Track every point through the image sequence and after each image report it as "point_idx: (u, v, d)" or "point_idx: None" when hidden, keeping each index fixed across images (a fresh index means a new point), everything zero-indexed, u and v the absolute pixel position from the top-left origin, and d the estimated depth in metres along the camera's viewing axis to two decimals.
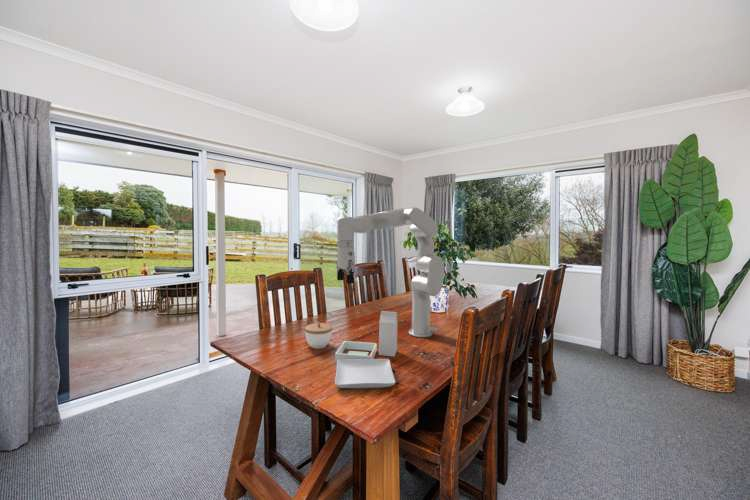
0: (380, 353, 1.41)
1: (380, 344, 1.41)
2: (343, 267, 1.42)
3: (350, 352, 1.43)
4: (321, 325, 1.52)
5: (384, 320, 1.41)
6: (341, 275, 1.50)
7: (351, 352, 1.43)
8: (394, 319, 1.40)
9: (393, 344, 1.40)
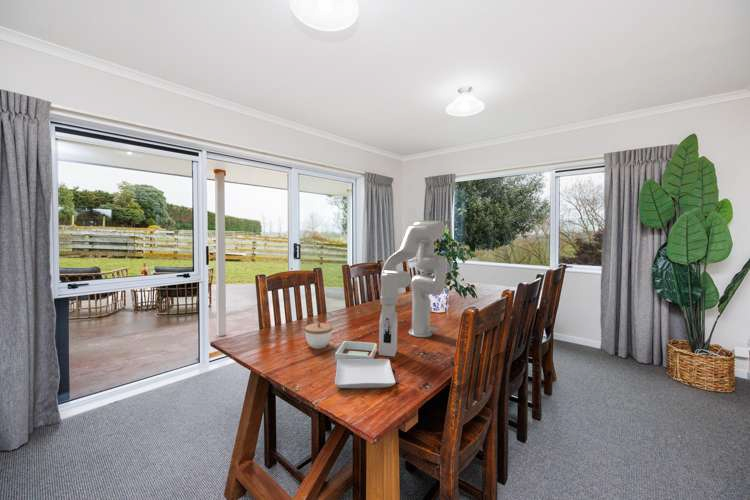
0: (380, 353, 1.41)
1: (380, 344, 1.41)
2: None
3: (350, 352, 1.43)
4: (321, 325, 1.52)
5: None
6: None
7: (351, 352, 1.43)
8: (394, 319, 1.40)
9: (393, 344, 1.40)
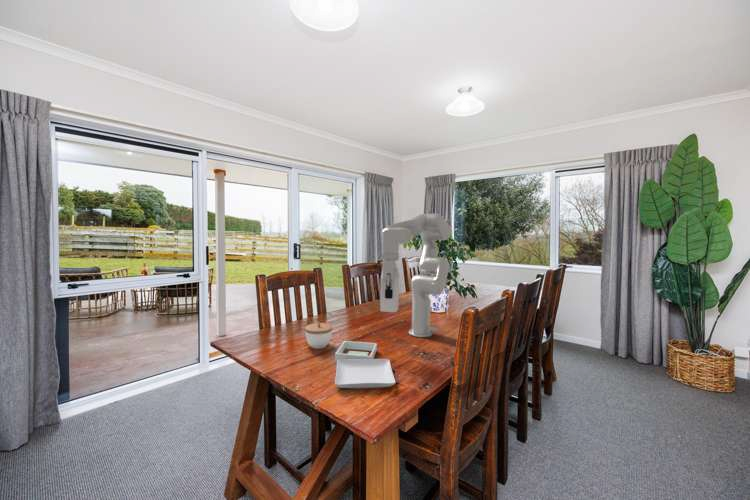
0: (382, 309, 1.40)
1: (381, 300, 1.40)
2: None
3: (350, 352, 1.43)
4: (321, 325, 1.52)
5: None
6: None
7: (351, 352, 1.43)
8: (395, 275, 1.39)
9: (395, 300, 1.39)
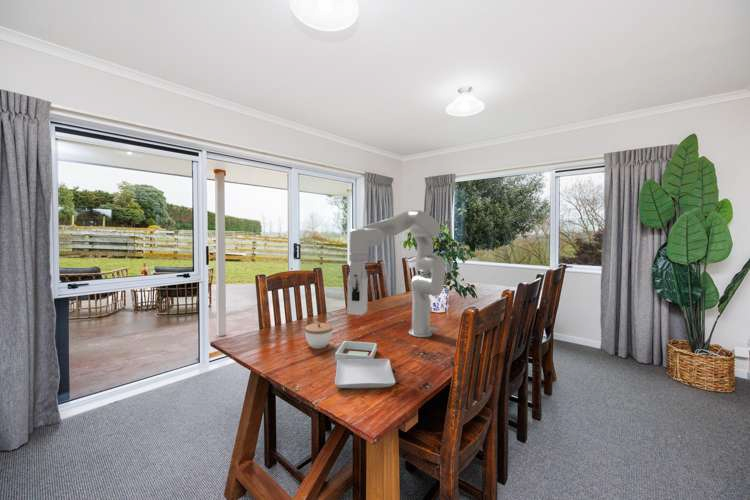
0: (349, 312, 1.36)
1: (348, 302, 1.35)
2: None
3: (350, 352, 1.43)
4: (321, 325, 1.52)
5: None
6: None
7: (351, 352, 1.43)
8: (363, 276, 1.35)
9: (362, 302, 1.34)
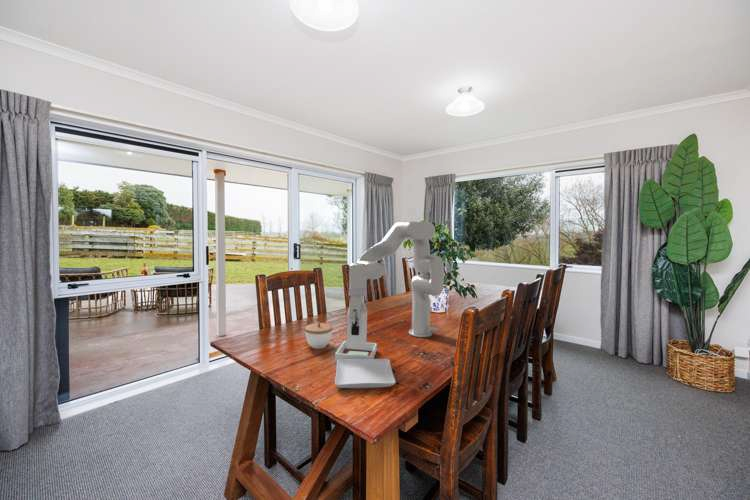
0: (348, 346, 1.37)
1: (348, 336, 1.37)
2: None
3: (350, 352, 1.43)
4: (321, 325, 1.52)
5: None
6: None
7: (351, 352, 1.43)
8: (362, 310, 1.36)
9: (361, 336, 1.35)
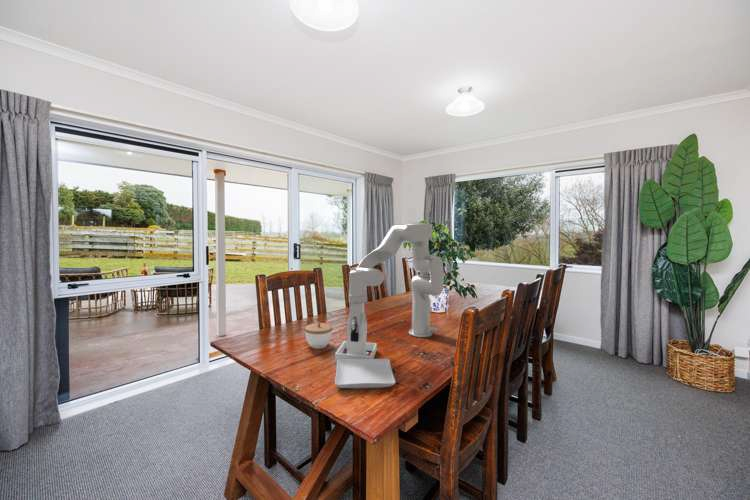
0: None
1: (348, 346, 1.37)
2: None
3: None
4: (321, 325, 1.52)
5: None
6: None
7: None
8: (362, 320, 1.36)
9: (361, 346, 1.36)
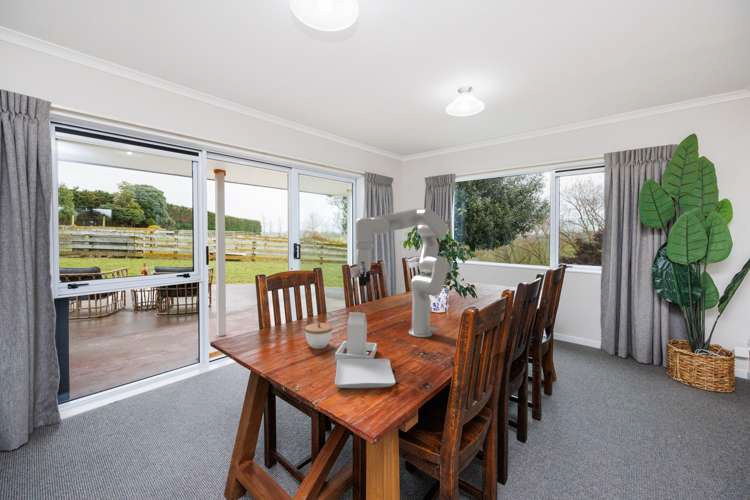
0: None
1: (348, 346, 1.37)
2: (370, 267, 1.46)
3: None
4: (321, 325, 1.52)
5: (352, 321, 1.36)
6: None
7: None
8: (362, 320, 1.36)
9: (361, 346, 1.36)
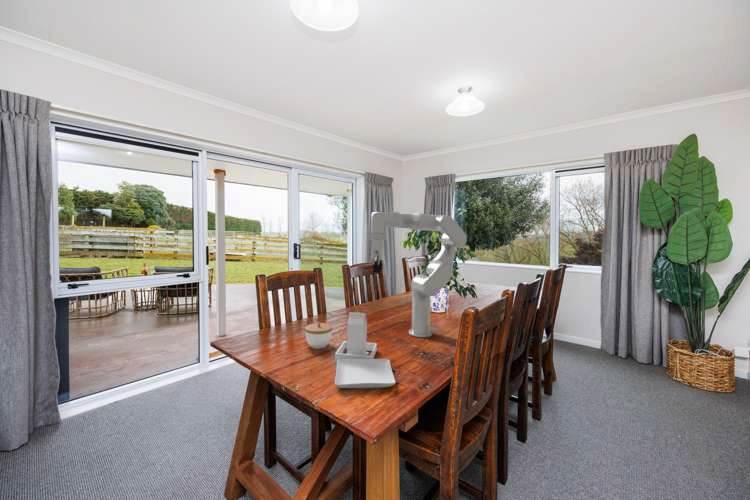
0: None
1: (348, 346, 1.37)
2: (382, 257, 1.62)
3: None
4: (321, 325, 1.52)
5: (352, 321, 1.36)
6: None
7: None
8: (362, 320, 1.36)
9: (361, 346, 1.36)
